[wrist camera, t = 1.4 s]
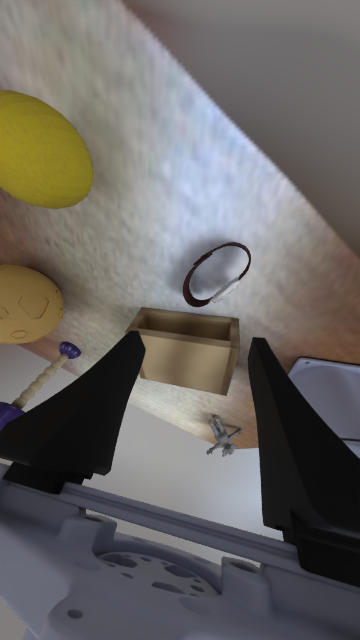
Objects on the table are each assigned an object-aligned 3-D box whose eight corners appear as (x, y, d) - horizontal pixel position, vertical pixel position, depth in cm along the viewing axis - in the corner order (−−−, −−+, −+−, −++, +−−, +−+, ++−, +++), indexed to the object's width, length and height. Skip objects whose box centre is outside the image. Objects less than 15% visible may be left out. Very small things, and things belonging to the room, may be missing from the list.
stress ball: (18, 290, 28) (-59, 333, 20) (8, 236, 21) (-110, 270, 14) (77, 321, 30) (25, 371, 22) (84, 280, 23) (14, 331, 16)
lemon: (66, 199, 17) (-24, 214, 11) (37, 111, 13) (-122, 63, 7) (118, 203, 16) (50, 222, 10) (102, 110, 12) (-19, 56, 6)
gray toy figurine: (237, 414, 38) (252, 446, 39) (224, 400, 44) (238, 428, 45) (199, 440, 36) (216, 473, 38) (191, 422, 42) (206, 451, 43)
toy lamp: (55, 340, 35) (-39, 429, 23) (71, 339, 34) (-21, 435, 22) (71, 355, 38) (-6, 442, 26) (86, 355, 36) (11, 448, 24)
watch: (205, 304, 21) (200, 324, 18) (175, 279, 20) (166, 296, 17) (262, 260, 16) (267, 278, 14) (228, 223, 15) (227, 234, 12)
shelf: (239, 318, 21) (240, 349, 18) (227, 366, 28) (226, 396, 24) (141, 307, 24) (124, 332, 20) (152, 353, 30) (140, 378, 27)
